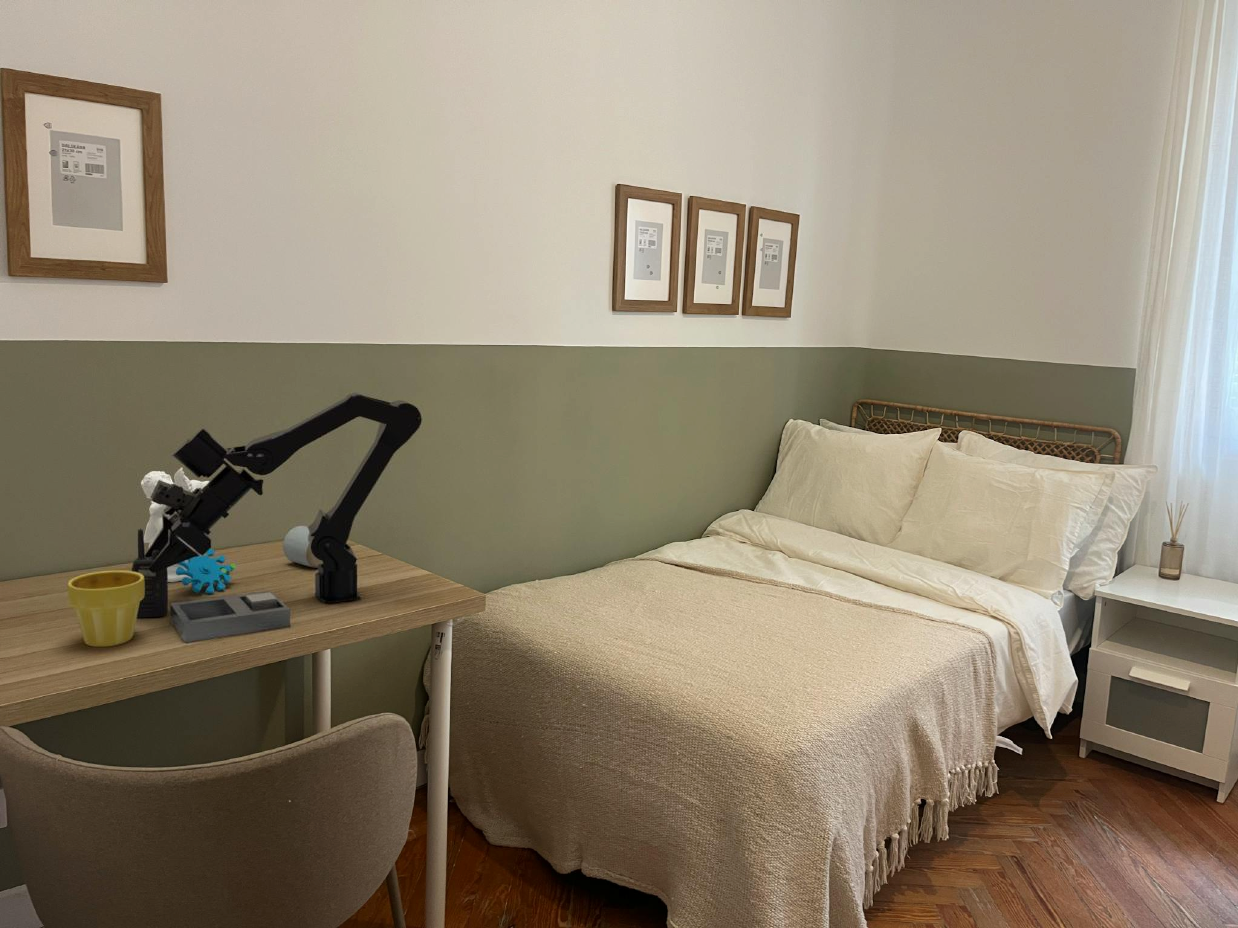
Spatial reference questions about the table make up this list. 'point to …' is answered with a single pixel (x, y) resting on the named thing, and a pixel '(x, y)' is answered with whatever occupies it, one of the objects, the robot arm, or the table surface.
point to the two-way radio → (151, 583)
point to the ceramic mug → (300, 547)
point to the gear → (205, 572)
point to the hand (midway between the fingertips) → (148, 564)
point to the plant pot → (106, 605)
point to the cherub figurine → (157, 509)
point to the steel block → (261, 601)
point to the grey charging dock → (225, 617)
